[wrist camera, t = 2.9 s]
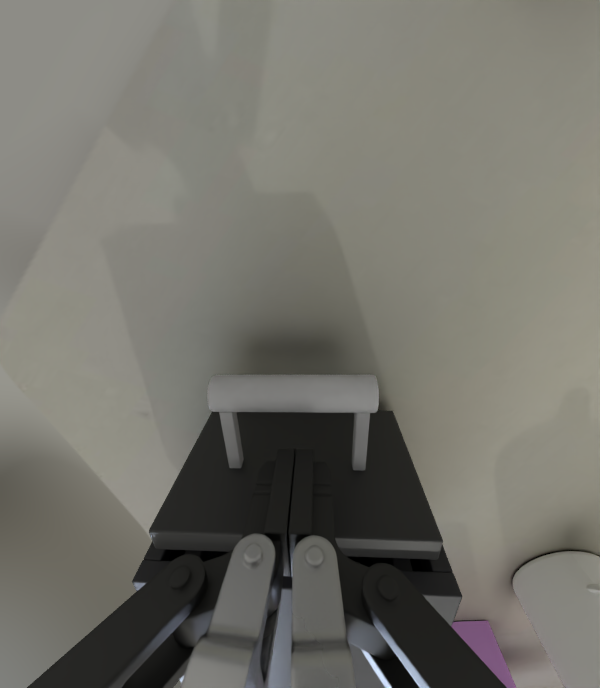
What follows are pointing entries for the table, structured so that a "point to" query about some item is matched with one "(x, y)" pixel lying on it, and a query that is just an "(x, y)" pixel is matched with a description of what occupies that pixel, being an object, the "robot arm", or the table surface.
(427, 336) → the table surface
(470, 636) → the teapot
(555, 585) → the mug
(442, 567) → the cabinet
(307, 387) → the drawer
